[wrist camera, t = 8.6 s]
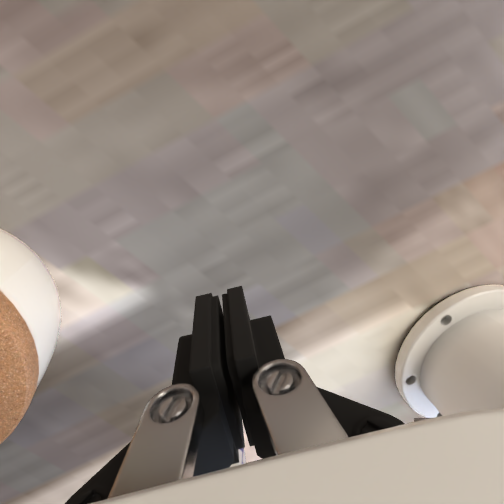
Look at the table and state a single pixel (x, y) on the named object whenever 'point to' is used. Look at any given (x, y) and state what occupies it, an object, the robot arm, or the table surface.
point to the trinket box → (24, 327)
